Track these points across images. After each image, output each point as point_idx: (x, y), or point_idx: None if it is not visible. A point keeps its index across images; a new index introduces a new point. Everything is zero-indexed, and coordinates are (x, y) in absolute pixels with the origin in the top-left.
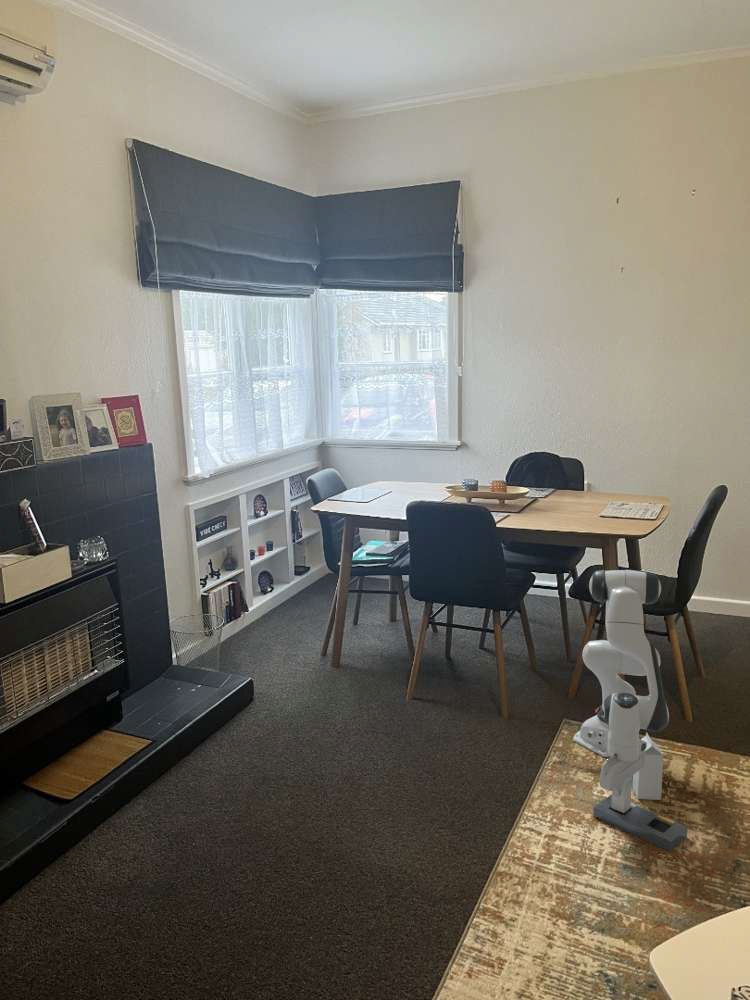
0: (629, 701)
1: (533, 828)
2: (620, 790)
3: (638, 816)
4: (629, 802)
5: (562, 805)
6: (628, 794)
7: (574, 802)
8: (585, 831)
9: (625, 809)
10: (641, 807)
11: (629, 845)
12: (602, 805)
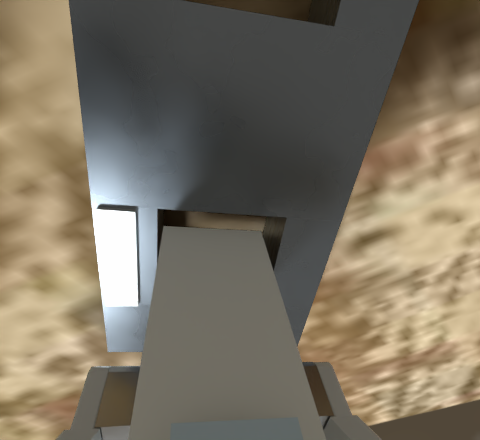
0: None
1: (461, 385)
2: None
3: (235, 136)
4: (178, 258)
5: None
6: (202, 326)
7: None
8: (417, 285)
9: (238, 240)
10: (88, 169)
11: (474, 74)
12: None
